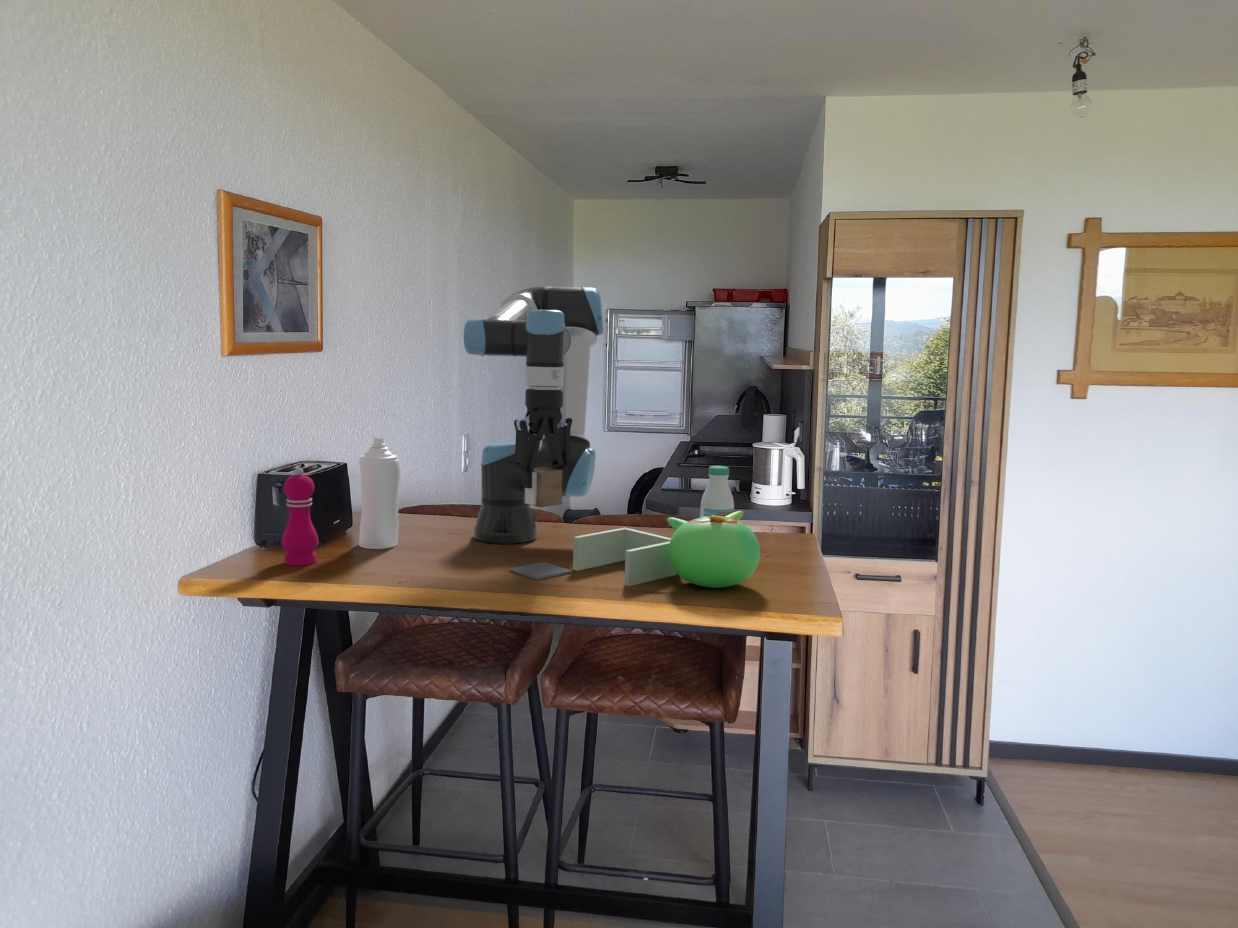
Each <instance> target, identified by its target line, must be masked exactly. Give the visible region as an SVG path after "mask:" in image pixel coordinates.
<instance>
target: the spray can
mask: <svg viewBox="0 0 1238 928" xmlns="http://www.w3.org/2000/svg"><path fill="white" fill-rule="evenodd" d="M368 449H369V450H367V451H365V453H364V454H361V455H360V456H359V460H358V463H359V467H360V468H359V471H360V482H361V502H362V505H361V514H360V522H359V523H360V524H359V534H358V535H359V537H358V539H359V541H358V546H359V547H361V548H364V549H369V550H384V549H391V548H394V547H396V546H398V545H399V544H398V543H399V542H398V540H399V494H400V491H399V490H400V478H401V466H400V460H399V458H398V457H399V455H398V454H394V453H392V452H391V451H390V450H389V447H387V446H386V443H384V438H379V437H373V442H372V443H371V446H369V447H368Z"/></svg>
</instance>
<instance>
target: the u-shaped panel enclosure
mask: <svg viewBox="0 0 1238 928" xmlns="http://www.w3.org/2000/svg"><path fill="white" fill-rule="evenodd" d="M671 538H672V537H666V536H663V535H657V534H654V533H649V532H646V531H641V530H638V529H633V528H628V527H622V528H615V529H609V530H604V531H603V530H602V531H600V532H593V533H587V534H582V535H577V536H573V544H572V545H573V547H572V550H573V551H572V553H573V554H572V555H573V556H572V570H573V571H582V570H586V569H591V568H596V567H601V566H605V565H610V564H615V563H619V561H620V562H625V563H624V586H626V585H628V586H627V587H631V586H630V585H633V586H636V585H635V584H637V585H641V584H644V583H643V582H645V583H649V582H652V581H656V579H657V580H660V579H664V577H665V578H668V577H673V576H677V575H678V574H677V573H676V572H675V570H674V569H673V567H672V565H671V562H670V559H669V543H670V540H671ZM648 581H649V582H648ZM640 583H641V584H640Z"/></svg>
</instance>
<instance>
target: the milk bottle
mask: <svg viewBox="0 0 1238 928" xmlns="http://www.w3.org/2000/svg"><path fill="white" fill-rule="evenodd" d="M729 474H730V468H729V467H728V466H726V465H724V466H723V465H711V466H709V467H708V477H709V480H708V483H707V486H706V488H705V490H704V492H703V494H702V497H701V501H700V510H699V517H704V516H708V517H710V516H722V517H725V516H727V515H729V514H731V513H734V512H735V503H734V502H735V501H734V496H733V494H732V491H731V489H730V485H729V481H728V480H729V479H728V478H729V477H730V475H729Z"/></svg>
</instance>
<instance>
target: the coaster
mask: <svg viewBox="0 0 1238 928" xmlns="http://www.w3.org/2000/svg"><path fill="white" fill-rule="evenodd" d="M572 570H573V569H568V568H566V567H561V566H558V565H554V564H551V563H548V562H545V561H541V562H538V563H537V562H536V563H532V564H525V565H521V566H516V567H512V568H509V571H510V572H511V573H514V574H518V575H521V576H524V577H527V578H530V579H533V580H536V581H540V580H544V579H549V578H554V577H558V576H563V575H567V574H572V572H573V571H572Z"/></svg>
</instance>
